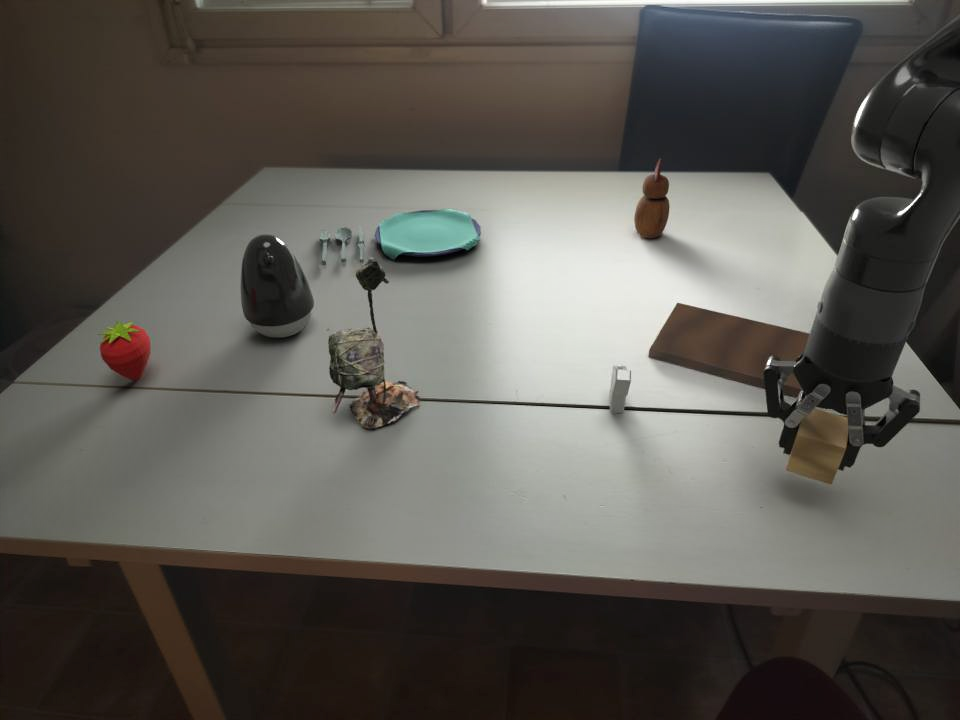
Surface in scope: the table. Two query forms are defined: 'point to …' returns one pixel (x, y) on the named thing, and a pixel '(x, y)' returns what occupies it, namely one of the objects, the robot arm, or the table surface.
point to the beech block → (819, 446)
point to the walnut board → (727, 345)
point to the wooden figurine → (653, 205)
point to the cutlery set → (416, 234)
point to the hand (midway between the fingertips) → (813, 456)
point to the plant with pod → (367, 364)
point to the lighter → (619, 388)
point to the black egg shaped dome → (274, 288)
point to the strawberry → (126, 350)
